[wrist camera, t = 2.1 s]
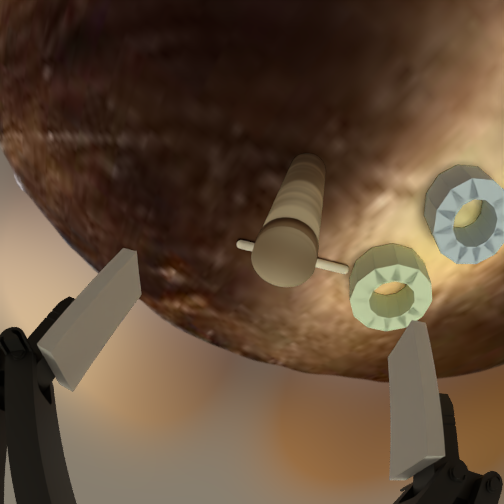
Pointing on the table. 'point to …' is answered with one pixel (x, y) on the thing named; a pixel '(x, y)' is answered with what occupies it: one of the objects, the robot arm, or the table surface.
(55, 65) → the table surface
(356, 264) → the bead
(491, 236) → the blue bead
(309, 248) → the wooden dowel
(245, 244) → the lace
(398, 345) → the robot arm
